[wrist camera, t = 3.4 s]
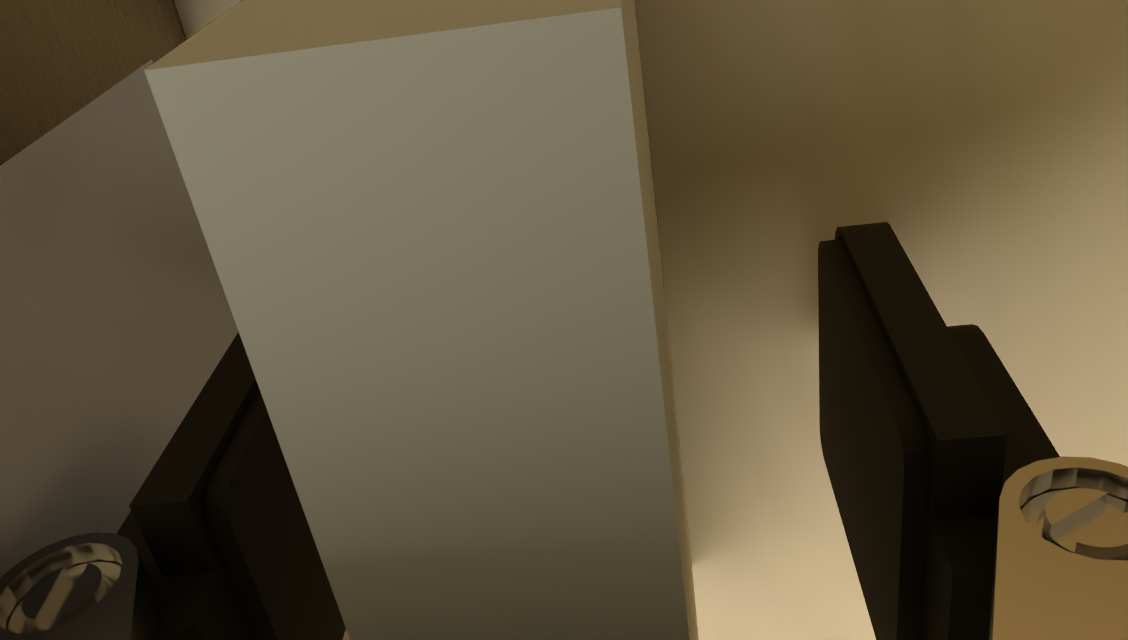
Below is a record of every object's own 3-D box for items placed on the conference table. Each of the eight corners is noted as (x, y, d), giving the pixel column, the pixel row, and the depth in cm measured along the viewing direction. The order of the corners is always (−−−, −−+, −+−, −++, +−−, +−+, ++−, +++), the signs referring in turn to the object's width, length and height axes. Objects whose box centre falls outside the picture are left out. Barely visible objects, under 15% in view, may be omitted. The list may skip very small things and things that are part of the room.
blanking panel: (617, -168, 11) (622, 9, 4) (691, 563, 16) (747, 1168, 9) (439, -140, 11) (144, 70, 4) (572, 571, 16) (541, 1168, 10)
